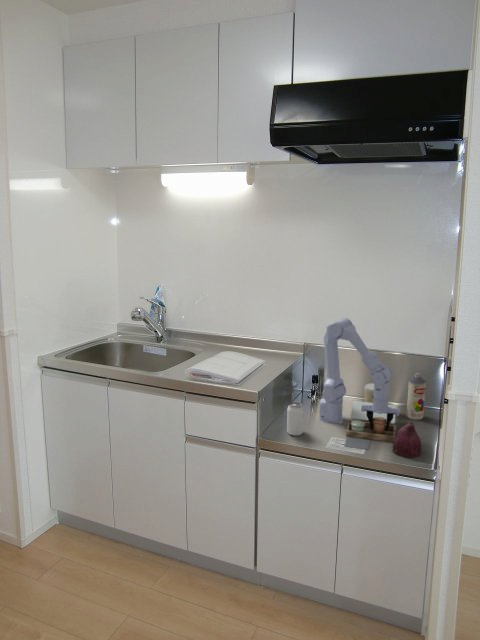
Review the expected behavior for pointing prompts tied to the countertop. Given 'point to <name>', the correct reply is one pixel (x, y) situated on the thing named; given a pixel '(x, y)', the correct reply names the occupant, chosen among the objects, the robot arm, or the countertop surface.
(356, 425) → the glazed pot
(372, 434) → the brown rectangular frame
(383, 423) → the pot
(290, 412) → the can
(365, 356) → the robot arm
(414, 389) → the aerosol can
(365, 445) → the slate mat
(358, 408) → the lid
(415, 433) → the vegetable
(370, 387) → the coffee cup
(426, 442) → the countertop surface
